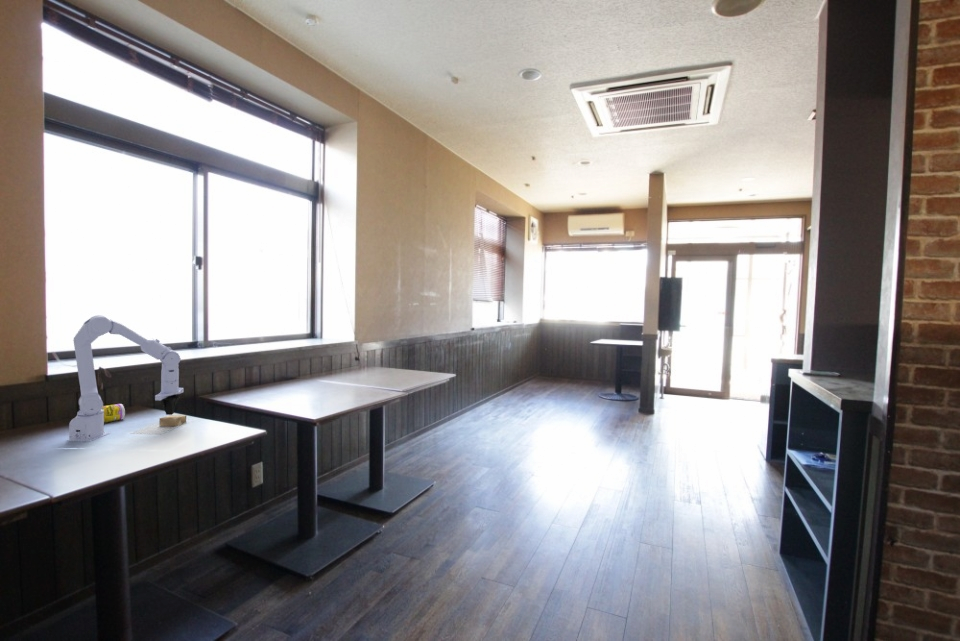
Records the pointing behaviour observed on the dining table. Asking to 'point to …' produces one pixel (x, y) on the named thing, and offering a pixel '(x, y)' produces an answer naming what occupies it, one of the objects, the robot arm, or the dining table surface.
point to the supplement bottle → (113, 412)
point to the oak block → (172, 420)
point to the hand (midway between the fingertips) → (169, 414)
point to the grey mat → (154, 429)
